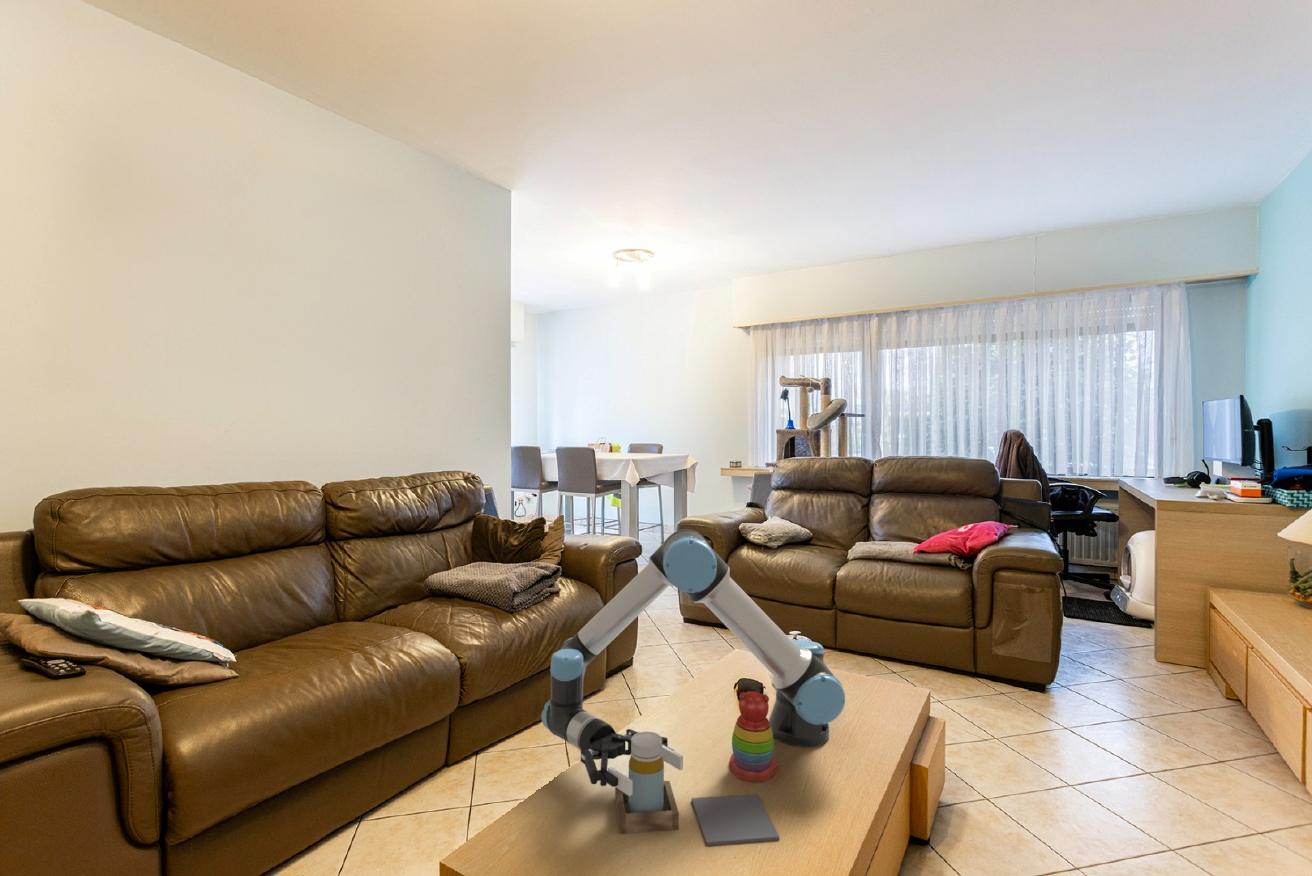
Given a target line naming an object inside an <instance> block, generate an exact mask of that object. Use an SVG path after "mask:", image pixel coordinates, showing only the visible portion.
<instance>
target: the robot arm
mask: <svg viewBox="0 0 1312 876" xmlns="http://www.w3.org/2000/svg"><path fill="white" fill-rule="evenodd" d="M730 569H731V568H730V566H729V565H728V564H727V562H725V561H724V560H723V559H722V557H721V556H720V555H719V554H717V553H716V551H715V550H714V549H713V548H712V547H711V546H710V545H709V543H708V542H707V540H706V538H705V537H704V536H703V535H702V534H701V533H699V532H698V531H696V530H693V529H687V528H685V529H680V530H676V531H674V532H673V533H671V534H670V535H669V536H668V537H667V538H666V539H665V540H664V542H662V544H660V546H659V547H658V548H657V549H656V550H655V551H654V553H652V554H651V555H650V556H649V557H648V564H647V565H646V566H645V567H644V568H643V569H641V570H640V572H638V574H637V575H635V576H634V577H633V578H632V579H631V580H630V582H628V583H627V584H625V586H624V587H623V588H622V589H621V590H620V591H619V592H618V593H617V594H615V595H614V597H613V598H612V599H611V600H610V601H609V602H607V604H605V605H604V607H603V608H601V609H600V610H599V612H597V613H596V614H595V615H593V617H592V618H591V619H590V620H589V621H588V622H587V623H586V624H585V625H584V626H583V627H582V628H581V629H580V630H579V631H578V632H577V633H576V634H575V635H573V636H572V637H570V638H568V639H566V640H565V641H564V642H563V644H562V645H561V646H560V648H559V649H558V650H557V651H556V652H554V653H553V654H552V655H551V660H550V668H549V671H550V699H549V700H548V701H547V702H546V703H545V704H544V706H543V710H542V711H541V722H542V725H543V726H544V727H545V728H546V729H547V730H548V731H550V732H551V734H552V735H554V736H556V737H558V738H560V739H562V740H564V741H565V742H567V743H568V744H569V745H571V746H573V747H574V748H576V749H577V750H579V751H580V762H581V763H582V764H583V765H584V766H585V770H586V772H587V774H588V775H587V776H588V777H589V781H590V783H591V784H592V785H596V784H598V782H599V783H600V784H599V785H600V786H601V787H606V786H607V785H609V786H610V787H613V788H615V787H616V788H618V789H619V790H621V791H622V792H624V793H625V794H627V795H628V796H631V795H632V790H633V781H632V780H631V779H629V776H627V775H624V774H623V773H621V772H620V771H618V770H617V769H615V768H614V767H612V766H609V767H608V762H609V760H611V759H612V760H613V759H616V758H617V757H621V756H631V739H632V737H633V735H635V734H637V733H639V731H636V730H633V729H631V728H627V729H626V731H625V732H626V733H625V734H620V733H617V732H616V731H615V729H614V727H613V726H612V725H611V724H610V723H608V722H606V721H605V720H602V719H600V718H599V717H597V716H596V715H594V714H593V713H590V712H588V711H587V710H585V709H584V707H583V706H584V703H583V702H584V678H585V673H586V670H587V666H588V665H590V663H591V662H592V661H593V660H594V659H595V658H597V656H598V655H599V654H600V653H601V652H603V650H604V649H606V647H608V645H609V644H611V642H613V641H614V640H615V639H616V637H618V636H619V635H620V634H621V633H622V632H623V631H624V630H625V629H626V628H627V627H628V626H629V625H630V624H631V623H632V622H633V621H635V619H636V618H637V617H639V615H641V614H642V612H644V611H645V610H646V609H647V608H648V607H649V606H650V605H651V604H652V603H653V602H654V601H656V599H657V598H658V597H659V596H661V595H662V593H663V592H664V591H665V590H667V588H668V587H675V588H676V589H678V590H679V591H682V592H683V593H684V595H686V596H687V597H688V598H689V599H690V600H691V601H692V602H693V603H695V604H701V603H702V604H704V605H705V606H706V607H707V608H708V609H709V610H710V611H711V612H712V613H713V614H714V616H716V617H717V618H718V619H719V620H720V622H721V623H722V624H723V625H724V626H725V627H726V628H727V629H728V630H729V631H730V632H731V633H732V634H733V635H734V636H735V637H736V638H737V639H738V640H739V641H740V642H741V643H742V644H743V645H744V646H745V648H747V650H749V651H750V652H751V653H752V655H754V656H755V658H756V659H757V660H758V661H759V662H760V663H761V664H762V665H763V666H764V667H765V668H766V669H767V670H768V671H769V673H771V674H772V675H773V686H774V687H775V702H774V704H773V706H772V710H771V712H770V715H769V718H768V721H769V722H770V725H771V728H772V734H773V739H774V738H775V740H777V741H780V742H781V743H784V744H787V745H791V746H796V747H806V748H807V747H808V748H809V747H817V746H821V745H823V744H825V743H826V742H827V741H828V740H829V738H830V726H829V723H832V722H834V721H835V720H836V719H837V718H838V717H839V716H840V715H841V713H842V712H843V710H844V707H845V704H846V703H845V702H846V692H845V691H844V687H843V685H842V683H841V681H840V680H839V679H838V678H837V677H836V675H834V674H833V672H832V671H831V670H830V669H829V667H828V666H827V665H826V664H825V663H824V661H825V660H824V658H825V657H824V656H825V652H824V647H823V645H822V644H820V643H819V642H817V641H816V642H815V641H811V640H806V639H805V640H803V639H791V638H790V637H789V636H788V635H787V634H786V633H784V631H783V630H782V629H781V628H780V627H779V626H778V625H777V624H776V623H775V622H774V621H773V620H772V619H771V617H769V615H767V614H766V613H765V611H764V610H763V609H761V607H760V606H759V605H757V603H756V602H755V601H754V600H753V599H752V598H751V597H750V596H749V595H748V594H747V593H746V592H745V591H744V590H743V589H742V587H740V585H738V584H737V582H735V580H734V579H732V577H731V576H730V574H731V573H730V572H731V570H730ZM661 738H662V758H663V761H664V763H666V764H668V765H671V766H672V767H673V768H675V769H677V770H679V771H683V770H684V755H683V754H680V753H679V752H677V751H675V750H674V749H673V748H671V747H669V745H668V737H666V736H661ZM626 742H627V748H626ZM595 760H600V769H598V768H597V765H596V763H595Z"/></svg>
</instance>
